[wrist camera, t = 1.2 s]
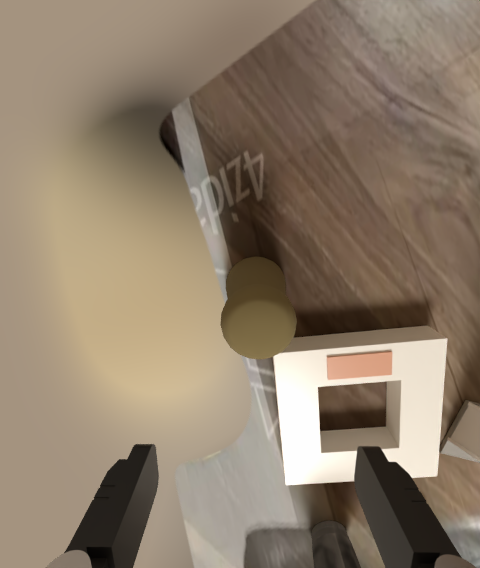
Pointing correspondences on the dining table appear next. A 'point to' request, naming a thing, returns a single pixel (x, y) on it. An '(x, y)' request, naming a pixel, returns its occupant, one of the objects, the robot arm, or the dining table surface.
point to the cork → (257, 309)
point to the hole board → (354, 370)
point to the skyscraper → (464, 434)
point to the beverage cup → (332, 546)
